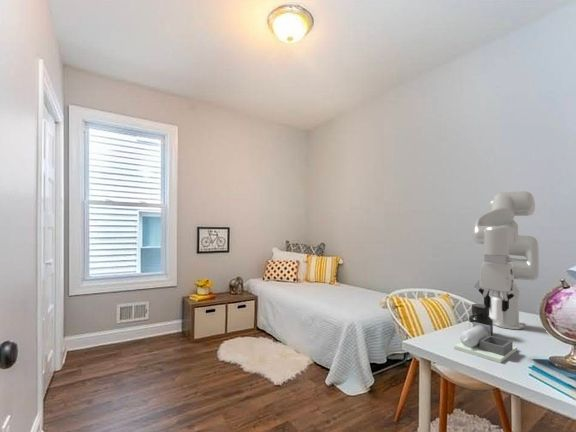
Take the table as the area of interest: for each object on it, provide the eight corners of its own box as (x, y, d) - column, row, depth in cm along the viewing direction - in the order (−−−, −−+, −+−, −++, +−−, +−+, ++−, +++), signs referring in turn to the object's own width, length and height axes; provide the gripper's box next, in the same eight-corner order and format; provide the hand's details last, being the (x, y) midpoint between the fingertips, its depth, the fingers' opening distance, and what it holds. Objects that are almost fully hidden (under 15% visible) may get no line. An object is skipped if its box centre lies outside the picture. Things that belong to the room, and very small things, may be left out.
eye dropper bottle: (503, 317, 117) (503, 285, 117) (502, 321, 112) (502, 288, 112) (489, 315, 119) (489, 284, 120) (488, 319, 115) (488, 286, 115)
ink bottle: (464, 332, 137) (464, 304, 137) (473, 328, 142) (473, 302, 142) (488, 339, 129) (488, 309, 129) (497, 335, 134) (497, 306, 134)
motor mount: (473, 338, 129) (473, 320, 130) (517, 350, 118) (517, 330, 118) (454, 348, 118) (454, 329, 118) (500, 363, 106) (500, 341, 107)
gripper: (527, 261, 112) (527, 312, 111) (475, 257, 125) (475, 303, 125) (520, 262, 107) (520, 316, 107) (467, 258, 120) (467, 305, 120)
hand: (496, 308), depth 116 cm, fingers closed on eye dropper bottle, 4 cm apart
